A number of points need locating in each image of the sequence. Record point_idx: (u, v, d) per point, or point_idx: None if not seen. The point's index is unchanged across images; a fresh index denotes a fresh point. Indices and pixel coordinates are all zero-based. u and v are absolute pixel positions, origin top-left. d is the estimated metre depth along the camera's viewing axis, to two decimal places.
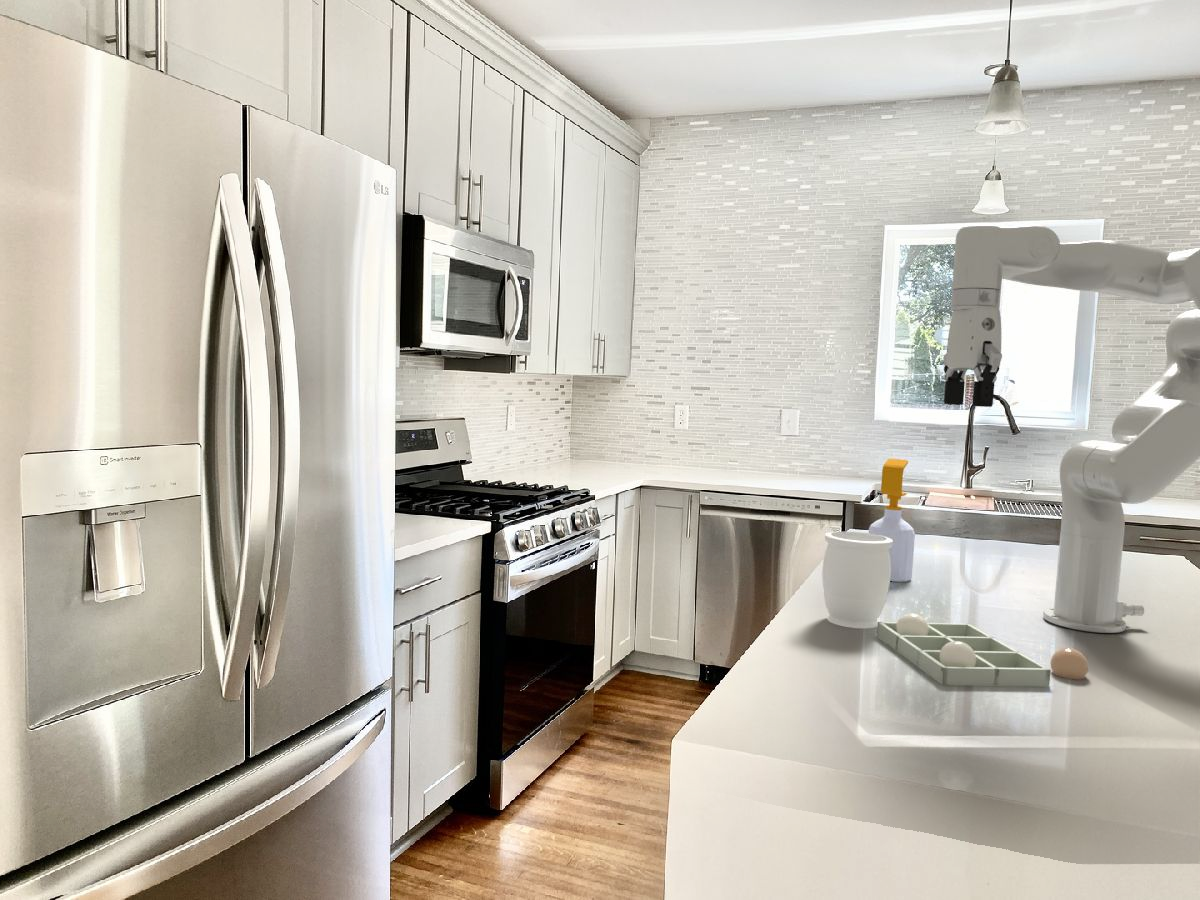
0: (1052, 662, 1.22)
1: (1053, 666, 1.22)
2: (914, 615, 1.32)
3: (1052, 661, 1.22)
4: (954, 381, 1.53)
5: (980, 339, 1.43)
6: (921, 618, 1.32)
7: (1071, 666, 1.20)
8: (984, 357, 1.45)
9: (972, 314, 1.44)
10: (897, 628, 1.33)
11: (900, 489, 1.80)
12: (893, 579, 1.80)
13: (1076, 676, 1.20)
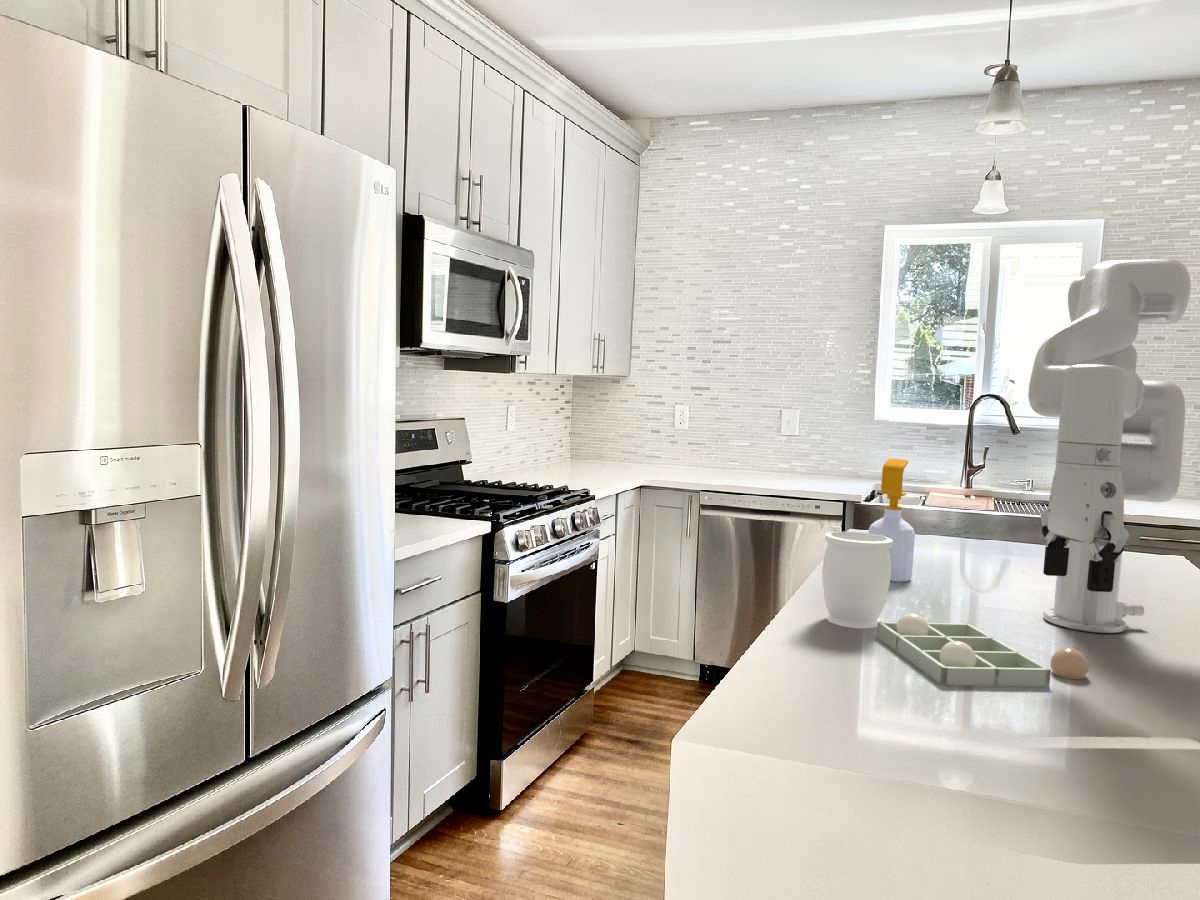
0: (1052, 662, 1.22)
1: (1053, 666, 1.22)
2: (914, 615, 1.32)
3: (1052, 661, 1.22)
4: (1056, 547, 1.25)
5: (1098, 509, 1.15)
6: (921, 618, 1.32)
7: (1071, 666, 1.20)
8: (1101, 528, 1.17)
9: (1087, 476, 1.16)
10: (897, 628, 1.33)
11: (900, 489, 1.80)
12: (893, 579, 1.80)
13: (1076, 676, 1.20)
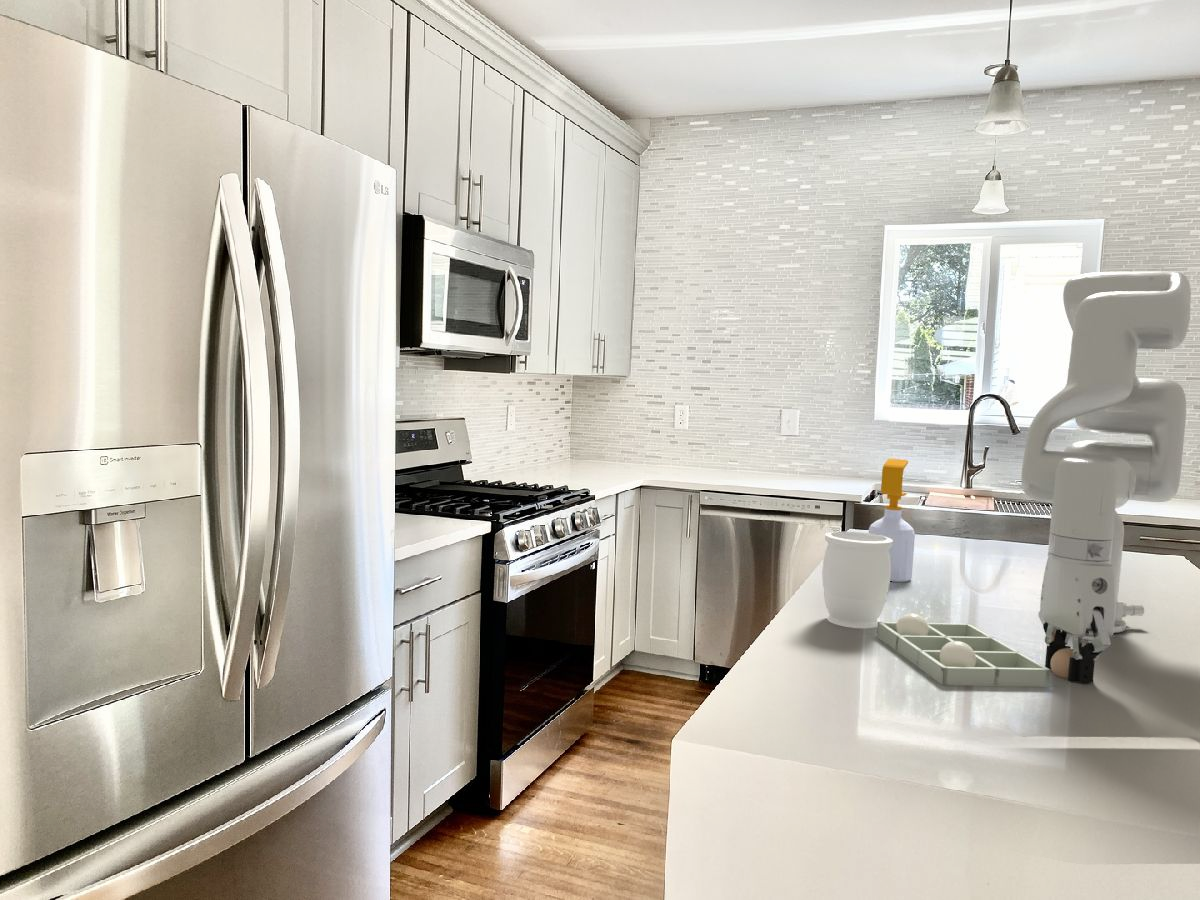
0: (1052, 662, 1.22)
1: (1053, 666, 1.22)
2: (914, 615, 1.32)
3: (1052, 661, 1.22)
4: (1058, 646, 1.24)
5: (1089, 604, 1.16)
6: (921, 618, 1.32)
7: None
8: (1090, 624, 1.19)
9: (1078, 571, 1.17)
10: (897, 628, 1.33)
11: (900, 489, 1.80)
12: (893, 579, 1.80)
13: None
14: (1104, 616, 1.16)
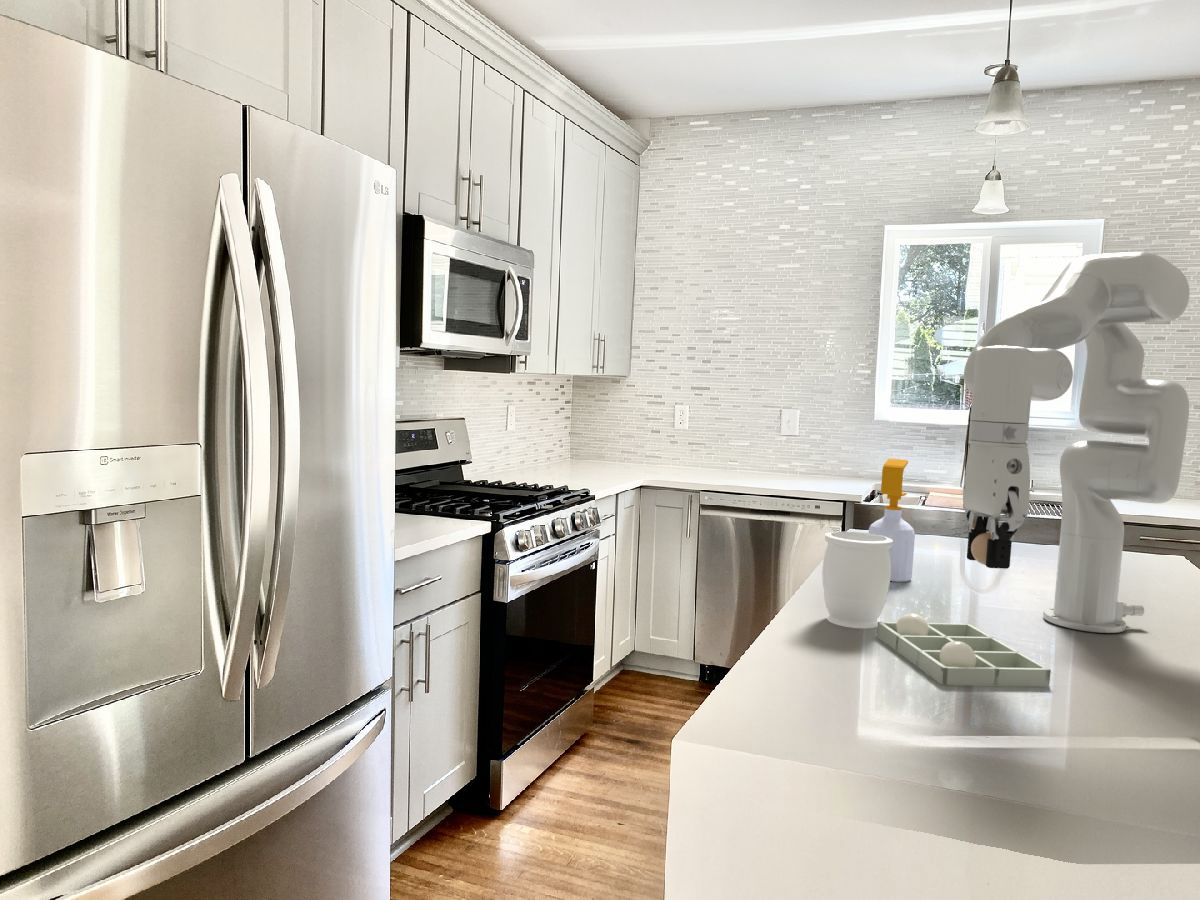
0: (972, 546, 1.26)
1: (973, 549, 1.25)
2: (914, 615, 1.32)
3: (972, 545, 1.26)
4: (979, 532, 1.28)
5: (1005, 484, 1.20)
6: (921, 618, 1.32)
7: None
8: (1007, 506, 1.22)
9: (995, 453, 1.21)
10: (897, 628, 1.33)
11: (900, 489, 1.80)
12: (893, 579, 1.80)
13: None
14: (1019, 496, 1.20)
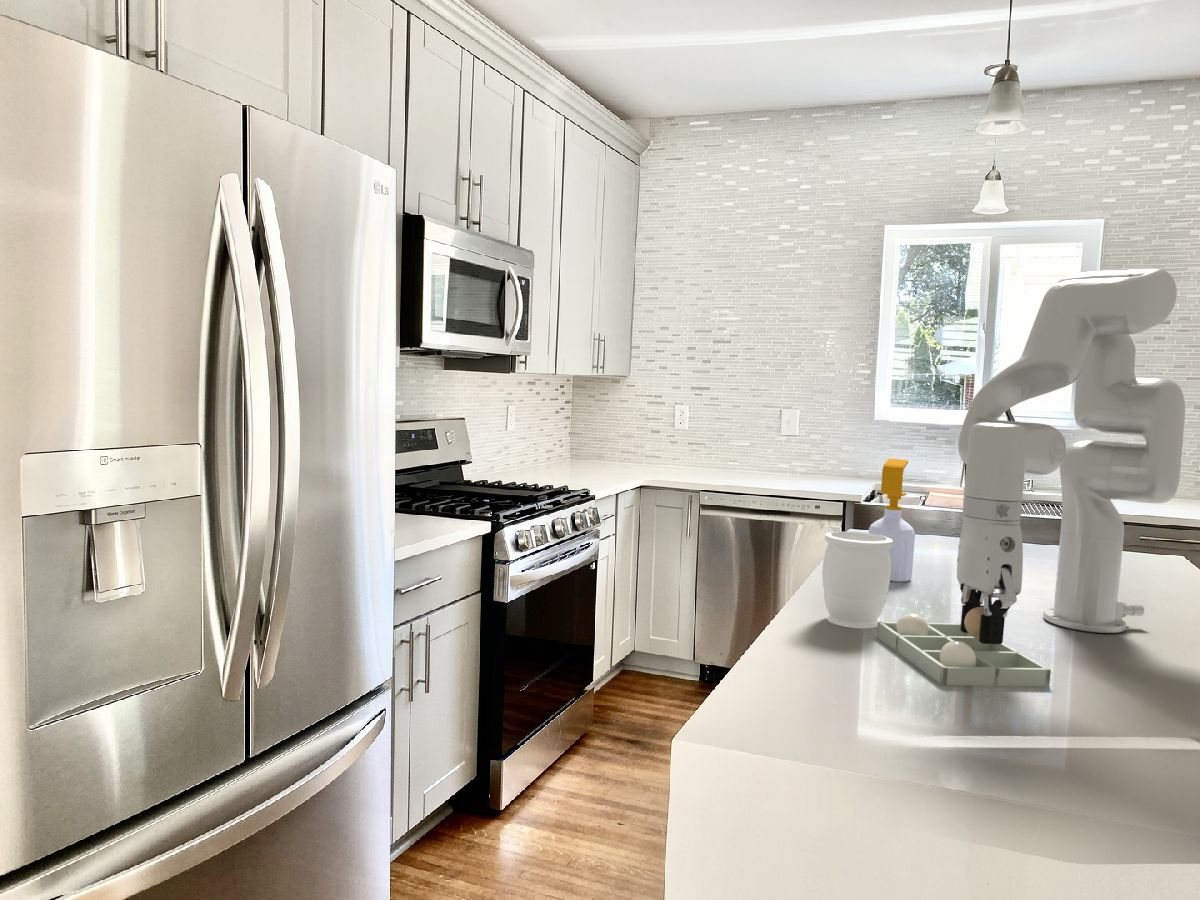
0: (965, 620, 1.27)
1: (966, 624, 1.26)
2: (914, 615, 1.32)
3: (965, 619, 1.27)
4: (973, 605, 1.29)
5: (998, 562, 1.21)
6: (921, 618, 1.32)
7: None
8: None
9: (988, 531, 1.22)
10: (897, 628, 1.33)
11: (900, 489, 1.80)
12: (893, 579, 1.80)
13: None
14: (1012, 574, 1.21)
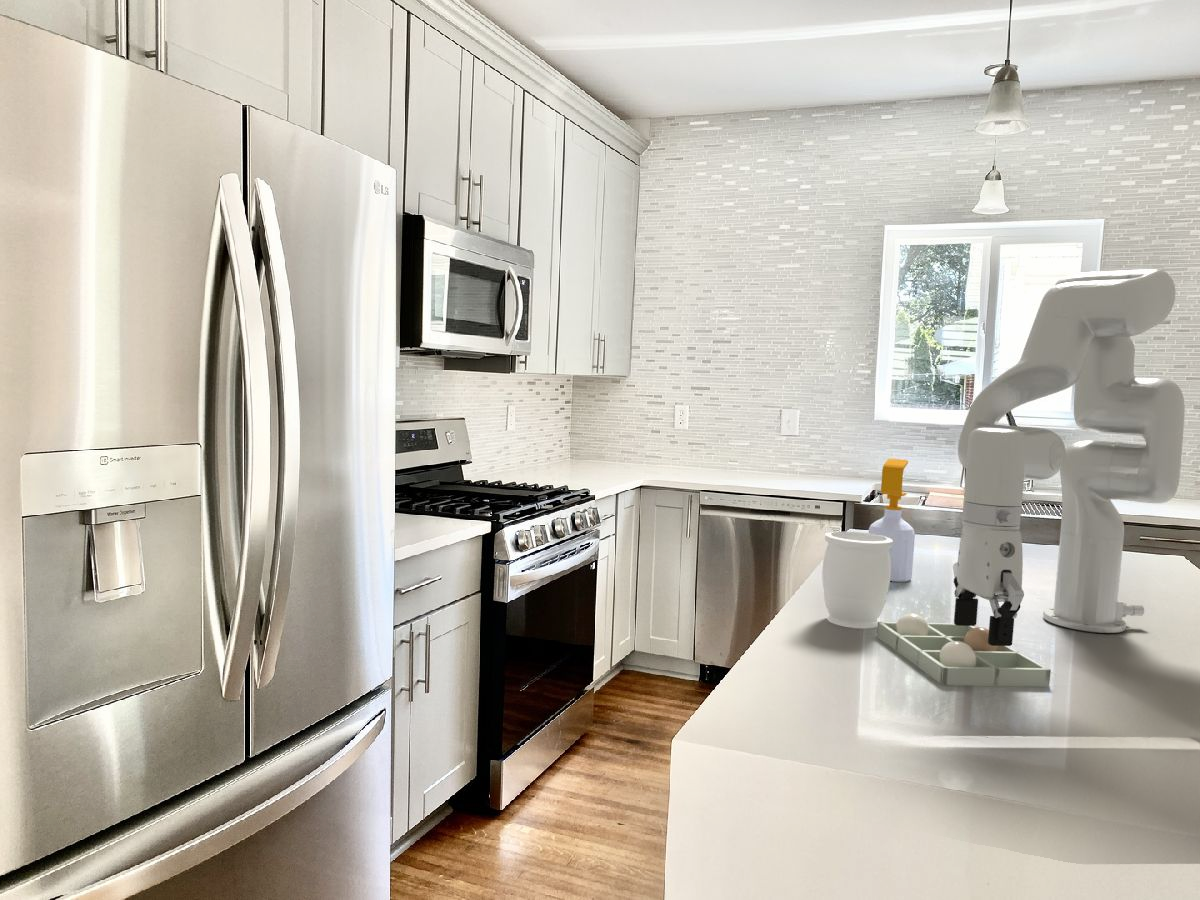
0: (964, 640, 1.27)
1: None
2: (914, 615, 1.32)
3: (964, 640, 1.27)
4: (966, 599, 1.31)
5: (997, 568, 1.21)
6: (921, 618, 1.32)
7: (981, 643, 1.25)
8: (1002, 585, 1.23)
9: (988, 536, 1.22)
10: (897, 628, 1.33)
11: (900, 489, 1.80)
12: (893, 579, 1.80)
13: None
14: None
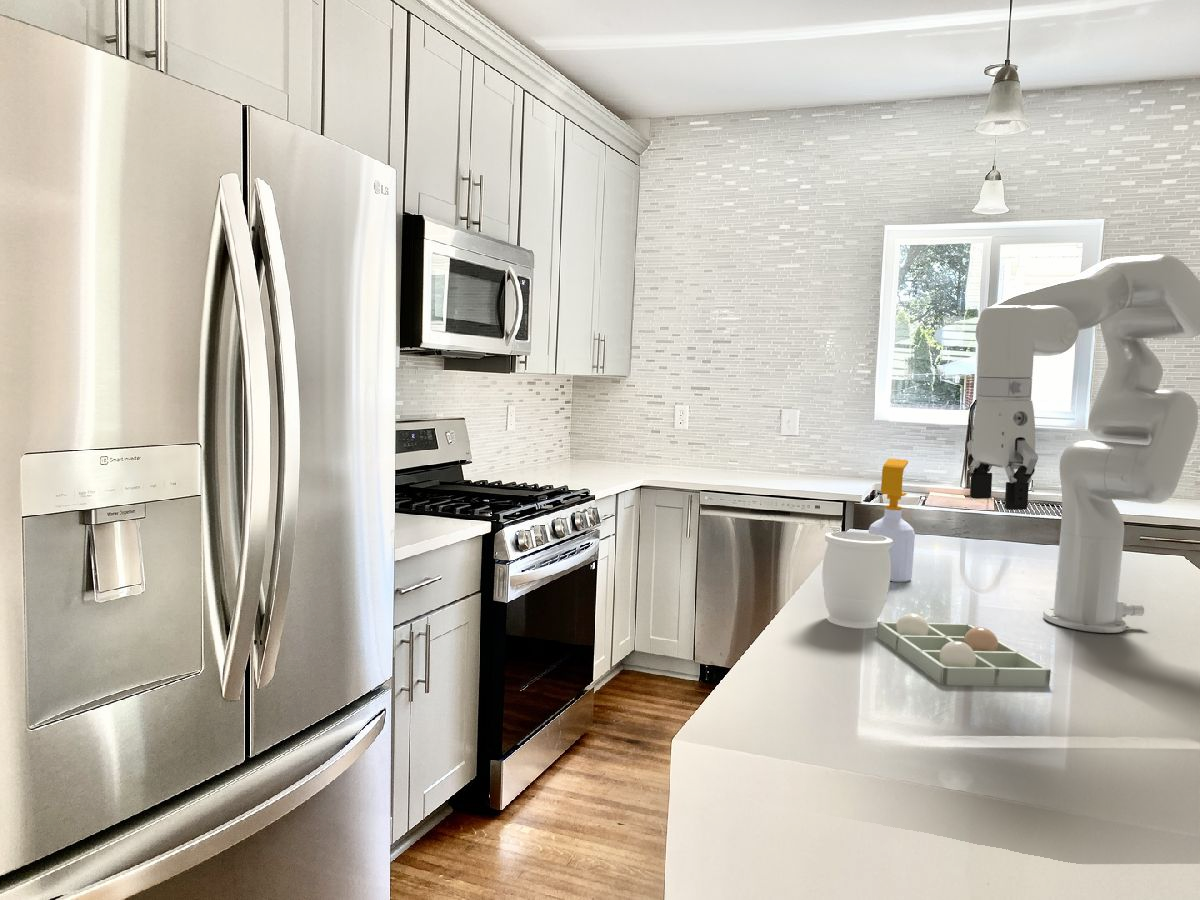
0: (964, 641, 1.27)
1: None
2: (914, 615, 1.32)
3: (964, 640, 1.27)
4: (980, 473, 1.38)
5: (1012, 436, 1.28)
6: (921, 618, 1.32)
7: (981, 643, 1.25)
8: (1016, 453, 1.30)
9: (1001, 407, 1.29)
10: (897, 628, 1.33)
11: (900, 489, 1.80)
12: (893, 579, 1.80)
13: None
14: None
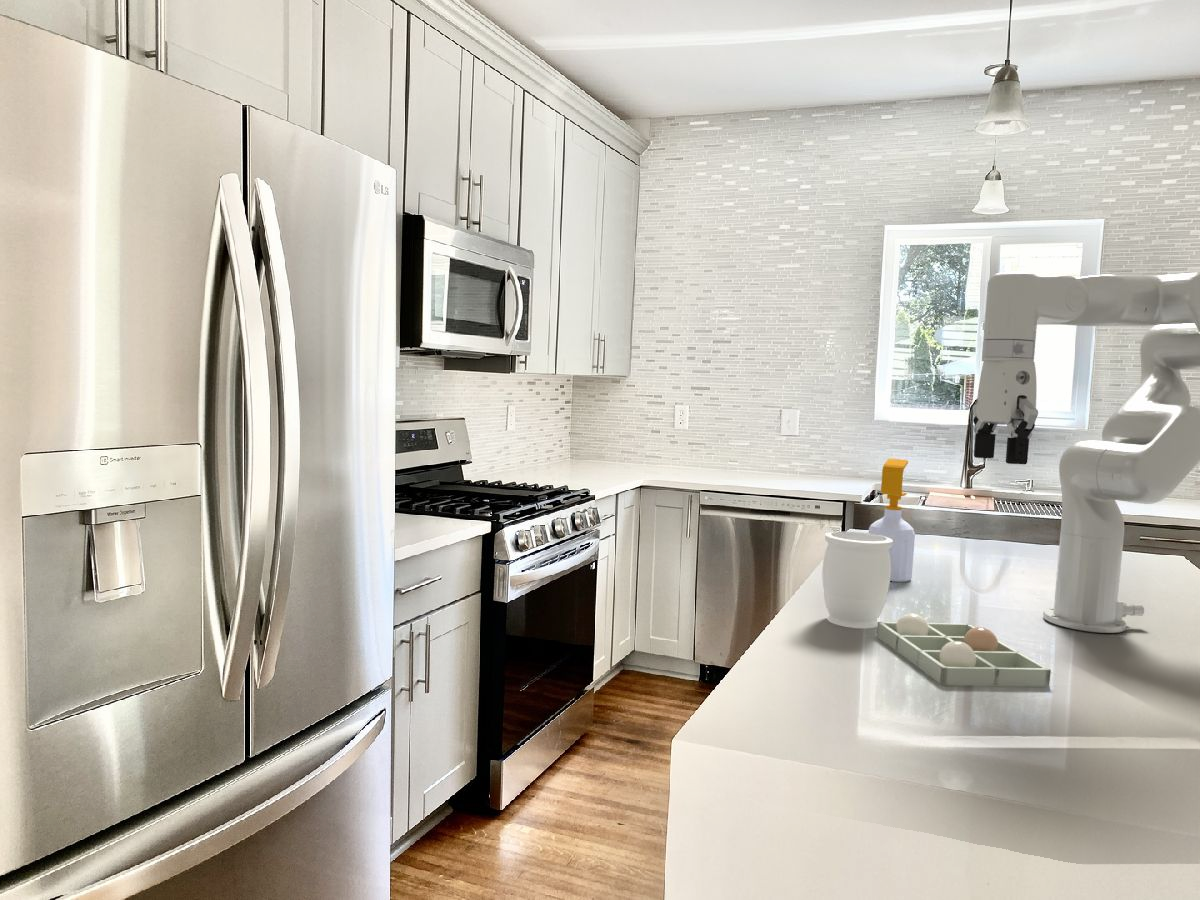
0: (964, 641, 1.27)
1: None
2: (914, 615, 1.32)
3: (964, 640, 1.27)
4: (984, 433, 1.46)
5: (1014, 393, 1.36)
6: (921, 618, 1.32)
7: (981, 644, 1.25)
8: (1018, 411, 1.38)
9: (1005, 367, 1.37)
10: (897, 628, 1.33)
11: (900, 489, 1.80)
12: (893, 579, 1.80)
13: None
14: None
